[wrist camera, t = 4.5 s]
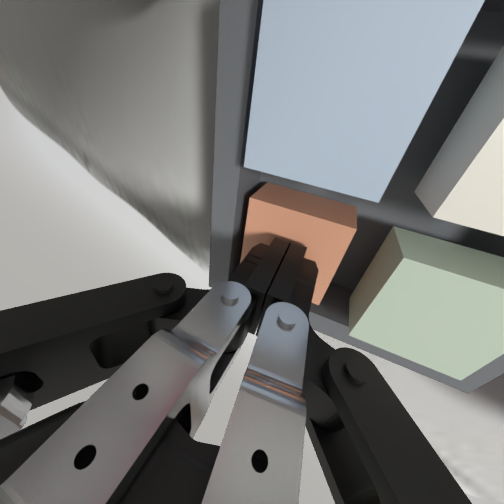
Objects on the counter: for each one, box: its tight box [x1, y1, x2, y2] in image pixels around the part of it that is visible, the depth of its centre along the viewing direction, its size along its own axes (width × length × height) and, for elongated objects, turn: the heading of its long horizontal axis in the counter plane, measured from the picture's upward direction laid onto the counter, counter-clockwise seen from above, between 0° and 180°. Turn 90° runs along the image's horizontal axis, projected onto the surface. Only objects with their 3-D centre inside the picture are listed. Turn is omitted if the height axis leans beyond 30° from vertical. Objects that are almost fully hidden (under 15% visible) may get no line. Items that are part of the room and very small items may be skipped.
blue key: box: [244, 0, 485, 203], centre depth 7 cm, size 4×4×2 cm
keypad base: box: [209, 0, 504, 393], centre depth 9 cm, size 14×14×4 cm
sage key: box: [348, 226, 504, 381], centre depth 9 cm, size 4×4×2 cm
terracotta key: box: [240, 182, 357, 305], centre depth 11 cm, size 4×4×2 cm
